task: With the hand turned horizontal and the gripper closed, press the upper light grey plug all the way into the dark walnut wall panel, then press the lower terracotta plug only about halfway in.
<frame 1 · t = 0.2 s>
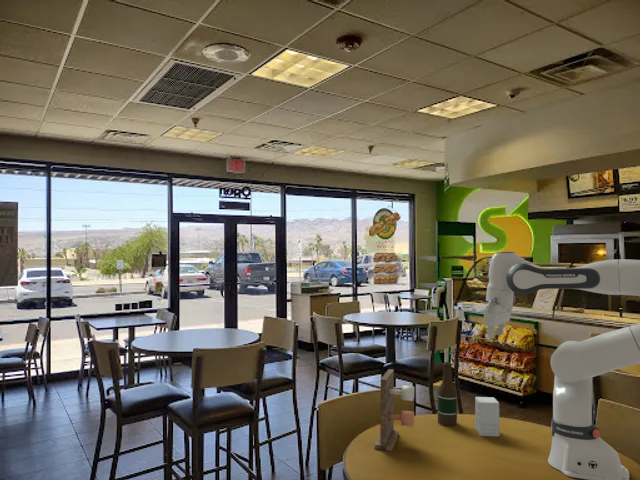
hand: (495, 336, 168), 39 cm above the table, tool pointing down, fingers open, 8 cm apart
beer bottle: (447, 423, 192), on the table
plug panel: (387, 441, 173), on the table
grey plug: (399, 392, 172), point 18 cm above the table, slide at 0.0 cm
terracotta plug: (399, 417, 172), point 9 cm above the table, slide at 0.0 cm
supplement box: (487, 433, 182), on the table
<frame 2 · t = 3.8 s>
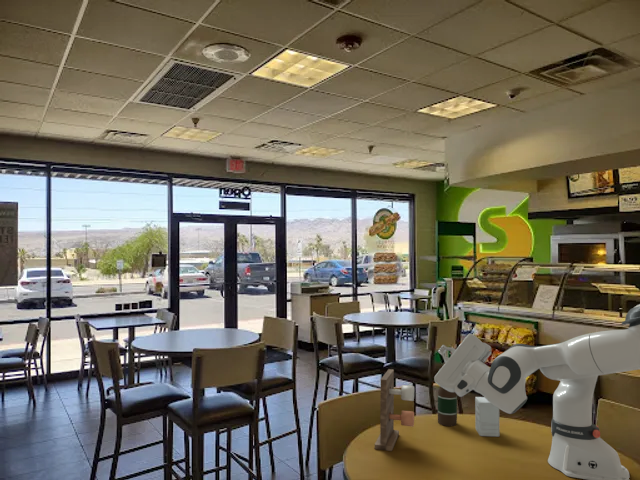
hand: (440, 348, 162), 36 cm above the table, tool pointing upward, fingers closed
nothing on the table moved.
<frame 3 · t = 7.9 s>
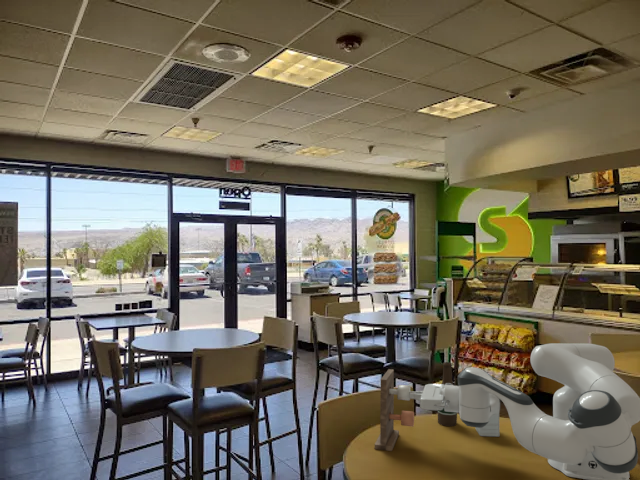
hand: (409, 394, 170), 18 cm above the table, tool horizontal, fingers closed, pressing on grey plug
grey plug: (395, 391, 172), point 18 cm above the table, slide at 1.4 cm, touching gripper
everything else where it was.
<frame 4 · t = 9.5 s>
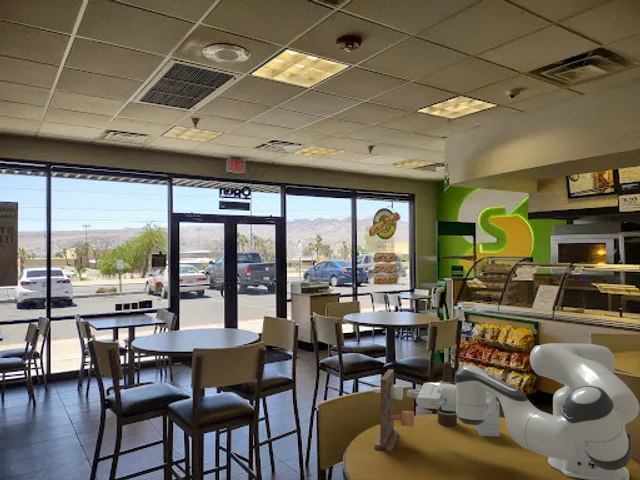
hand: (407, 392, 171), 18 cm above the table, tool horizontal, fingers closed
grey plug: (388, 391, 173), point 18 cm above the table, slide at 4.1 cm
everything else where it was.
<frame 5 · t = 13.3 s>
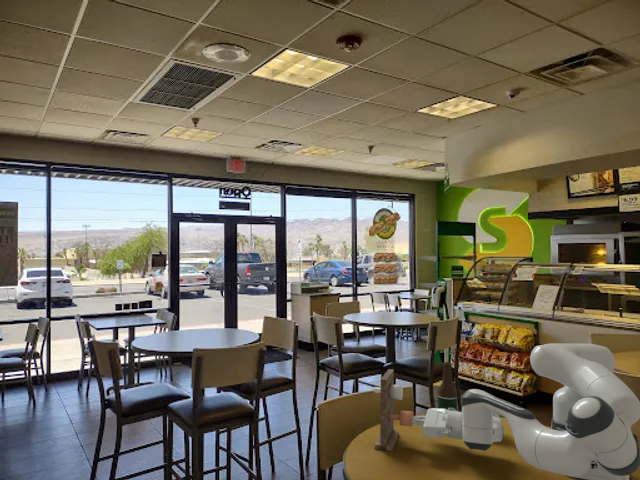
hand: (412, 420, 170), 9 cm above the table, tool horizontal, fingers closed, pressing on terracotta plug
terracotta plug: (398, 417, 172), point 9 cm above the table, slide at 0.5 cm, touching gripper
everything else where it was.
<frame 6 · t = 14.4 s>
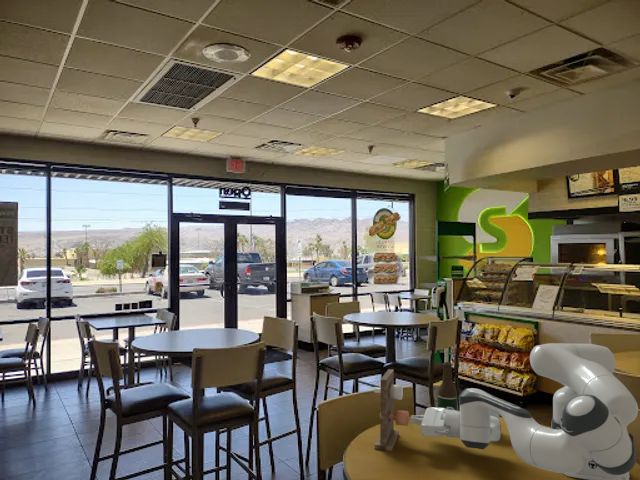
hand: (410, 418, 170), 9 cm above the table, tool horizontal, fingers closed
terracotta plug: (393, 416, 172), point 9 cm above the table, slide at 2.0 cm
everything else where it was.
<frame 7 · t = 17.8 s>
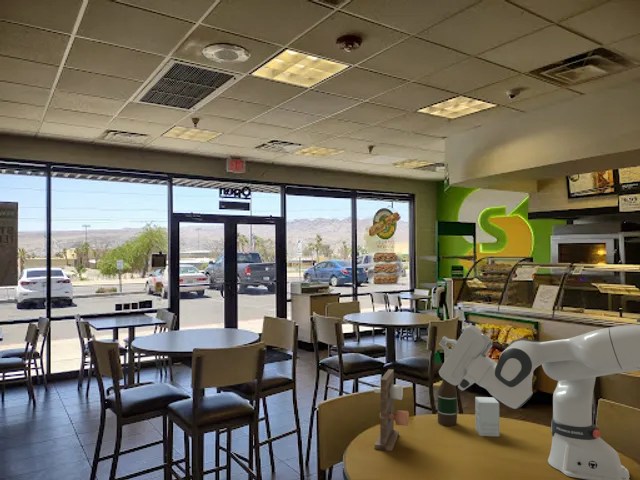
hand: (441, 339, 155), 40 cm above the table, tool pointing upward, fingers closed
nothing on the table moved.
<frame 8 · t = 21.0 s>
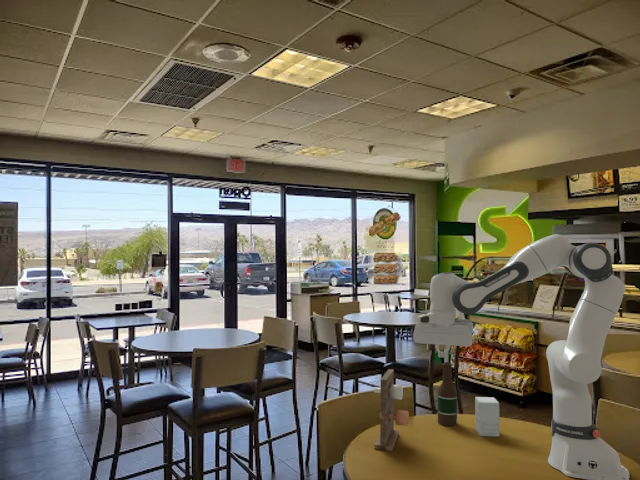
hand: (442, 357, 170), 31 cm above the table, tool pointing down, fingers closed
nothing on the table moved.
at the end: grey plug slide at 4.1 cm; terracotta plug slide at 2.0 cm; beer bottle moved 0.2 cm from its start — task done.
